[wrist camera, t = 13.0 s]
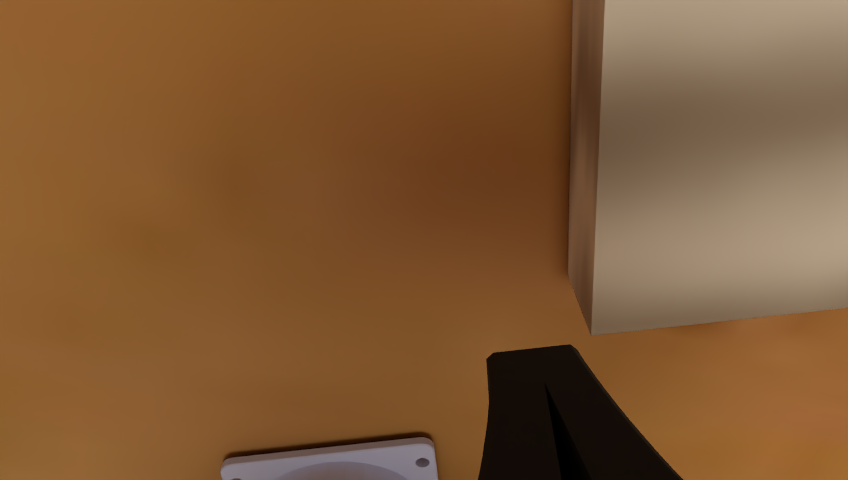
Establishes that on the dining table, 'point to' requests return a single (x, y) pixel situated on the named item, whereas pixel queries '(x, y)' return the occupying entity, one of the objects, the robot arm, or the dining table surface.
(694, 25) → the birch board
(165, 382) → the dining table surface
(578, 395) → the robot arm
